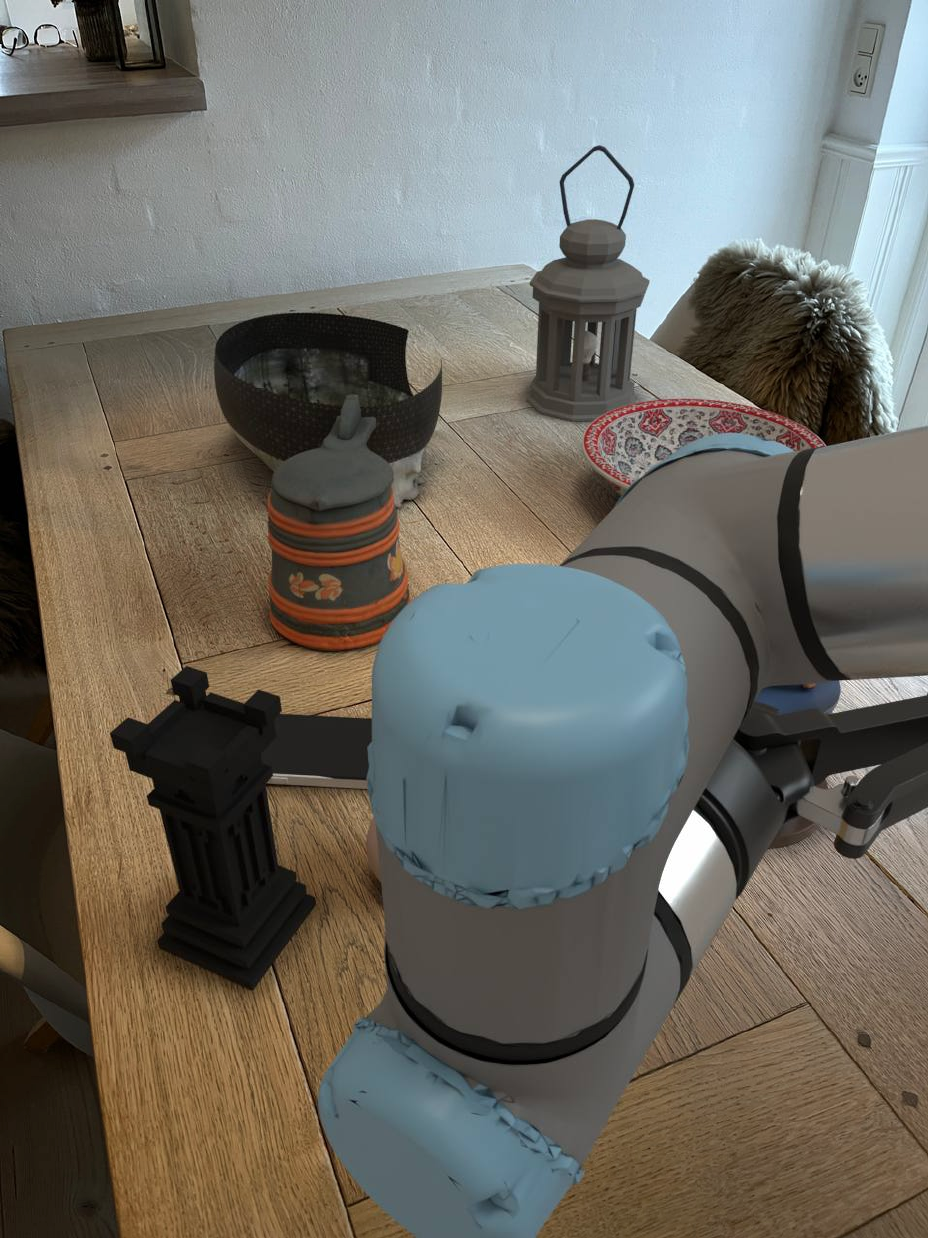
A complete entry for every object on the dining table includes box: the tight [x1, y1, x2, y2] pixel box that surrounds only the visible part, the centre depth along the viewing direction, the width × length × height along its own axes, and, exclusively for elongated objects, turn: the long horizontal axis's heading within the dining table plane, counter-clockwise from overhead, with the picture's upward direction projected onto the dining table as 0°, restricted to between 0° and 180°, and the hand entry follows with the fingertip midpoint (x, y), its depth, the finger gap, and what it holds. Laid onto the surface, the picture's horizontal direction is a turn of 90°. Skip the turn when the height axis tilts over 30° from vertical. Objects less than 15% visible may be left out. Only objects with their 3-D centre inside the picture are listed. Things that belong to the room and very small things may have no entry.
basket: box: [213, 312, 443, 509], centre depth 129 cm, size 28×35×16 cm
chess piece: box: [109, 665, 317, 991], centre depth 67 cm, size 8×8×20 cm
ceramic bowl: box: [581, 398, 827, 497], centre depth 121 cm, size 29×29×8 cm
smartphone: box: [261, 713, 372, 790], centre depth 87 cm, size 8×1×15 cm
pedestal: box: [755, 681, 842, 849], centre depth 80 cm, size 13×13×12 cm
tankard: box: [267, 394, 412, 652], centre depth 101 cm, size 19×15×20 cm
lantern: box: [525, 144, 650, 423], centre depth 141 cm, size 17×17×35 cm
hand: (830, 591), depth 52 cm, fingers open, 13 cm apart
